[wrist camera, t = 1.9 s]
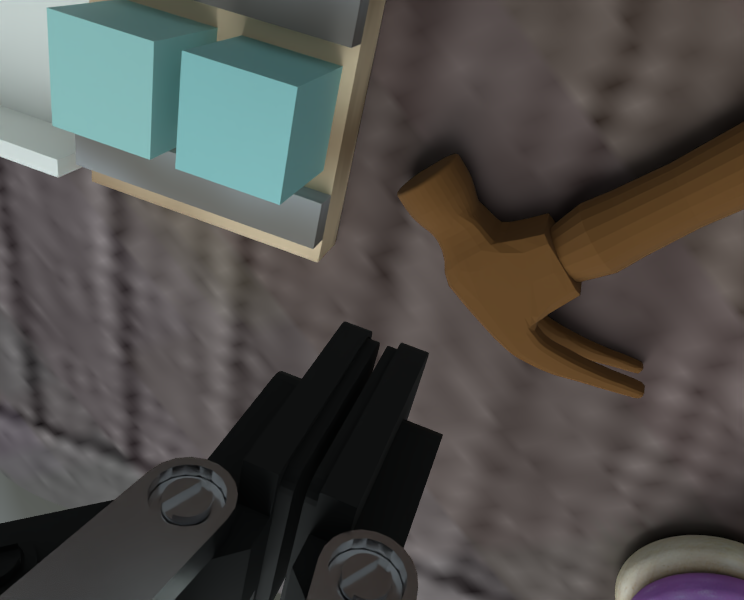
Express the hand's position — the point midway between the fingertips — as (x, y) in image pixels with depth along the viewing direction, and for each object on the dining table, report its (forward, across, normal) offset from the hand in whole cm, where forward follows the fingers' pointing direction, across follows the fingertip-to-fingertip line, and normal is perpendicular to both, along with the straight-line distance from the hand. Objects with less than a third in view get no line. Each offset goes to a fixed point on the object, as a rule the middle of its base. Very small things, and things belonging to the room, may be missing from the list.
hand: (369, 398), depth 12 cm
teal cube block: (+13, +8, -1) cm, 16 cm away
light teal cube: (+13, +13, -1) cm, 19 cm away
